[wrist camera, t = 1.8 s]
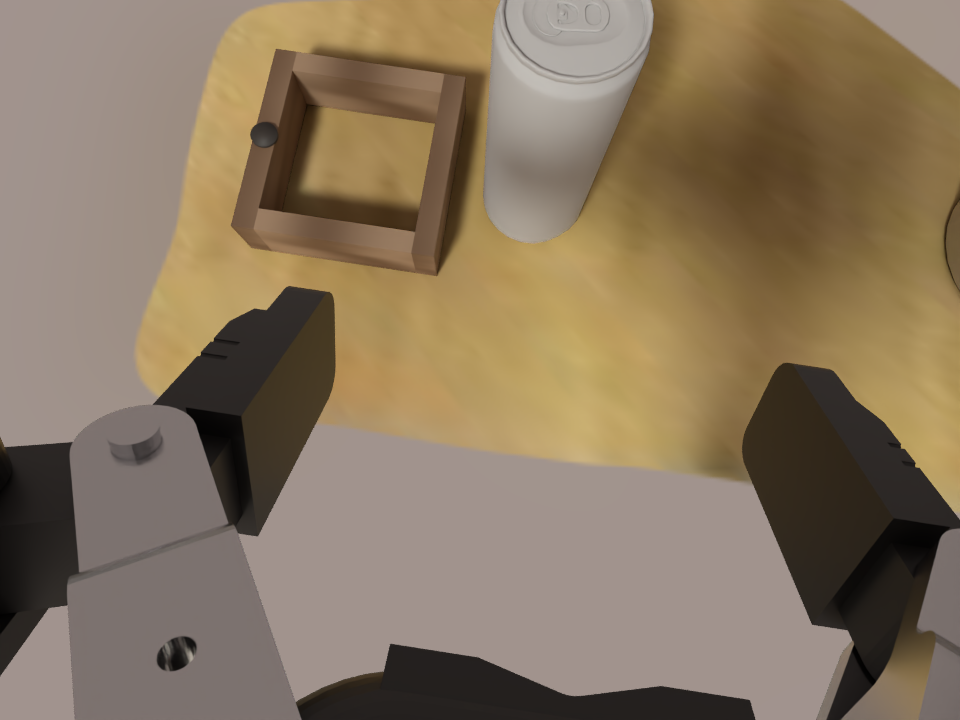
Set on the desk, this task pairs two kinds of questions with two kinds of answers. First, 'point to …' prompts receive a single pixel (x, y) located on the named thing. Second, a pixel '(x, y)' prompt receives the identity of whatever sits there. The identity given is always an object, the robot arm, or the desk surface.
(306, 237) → the collar
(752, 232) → the desk surface
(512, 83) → the beverage can
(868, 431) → the robot arm
